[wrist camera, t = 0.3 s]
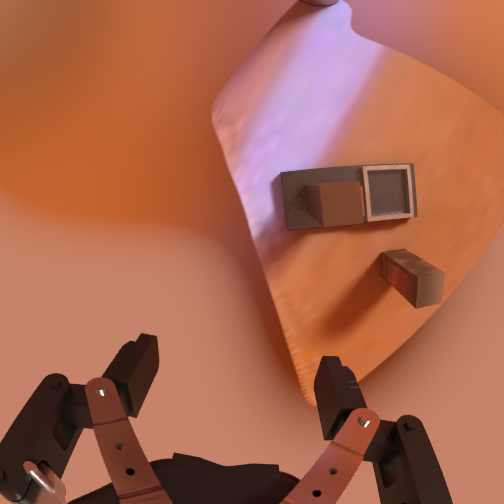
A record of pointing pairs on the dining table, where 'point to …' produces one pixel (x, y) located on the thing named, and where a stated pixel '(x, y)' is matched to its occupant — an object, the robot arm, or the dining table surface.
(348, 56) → the dining table surface
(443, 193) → the dining table surface
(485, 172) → the dining table surface
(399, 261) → the wooden post
